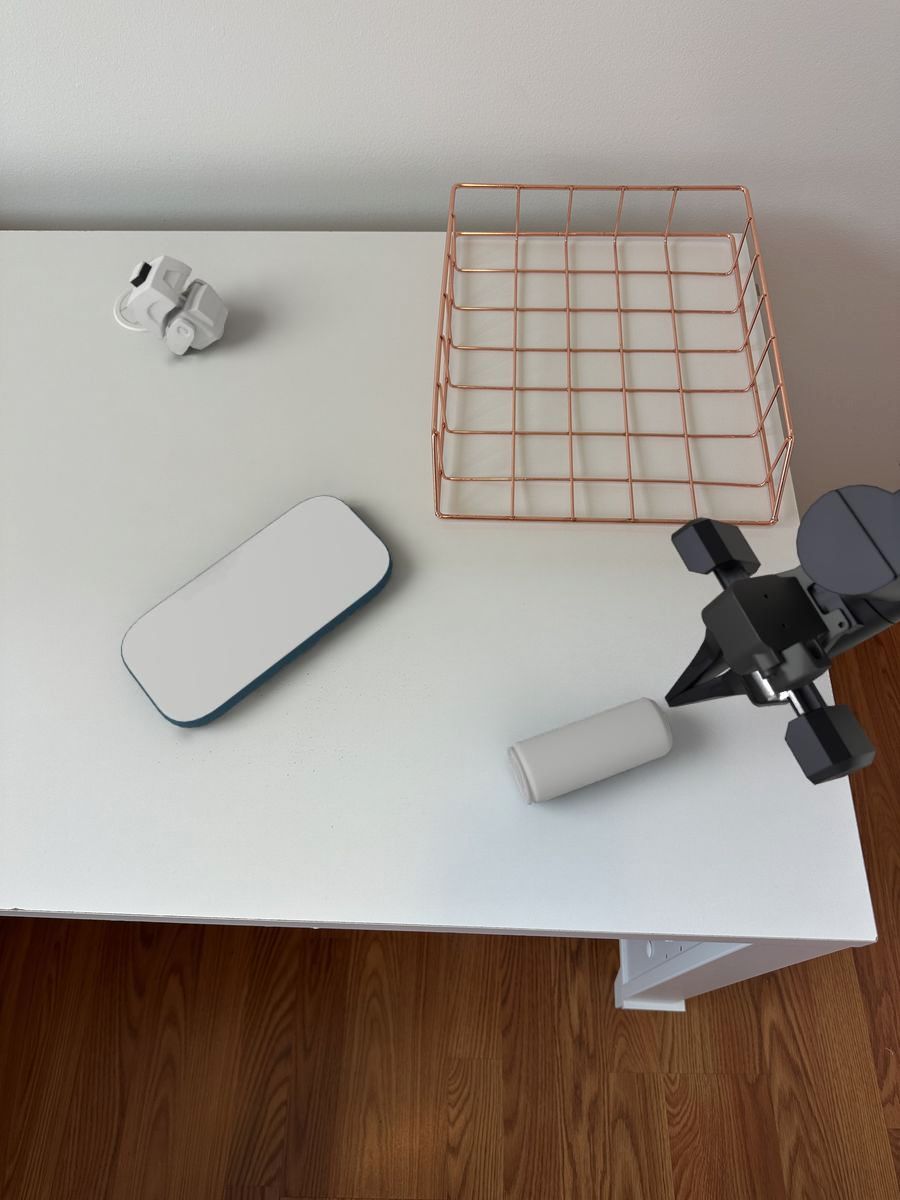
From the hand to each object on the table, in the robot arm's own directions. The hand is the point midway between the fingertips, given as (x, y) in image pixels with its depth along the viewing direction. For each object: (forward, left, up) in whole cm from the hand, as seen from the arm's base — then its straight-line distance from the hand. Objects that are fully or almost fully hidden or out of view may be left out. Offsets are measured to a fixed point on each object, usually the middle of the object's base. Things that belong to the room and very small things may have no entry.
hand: (669, 702), depth 60 cm
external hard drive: (+30, -17, -8) cm, 35 cm away
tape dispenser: (+35, -50, -8) cm, 61 cm away
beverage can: (-1, 0, -6) cm, 6 cm away
